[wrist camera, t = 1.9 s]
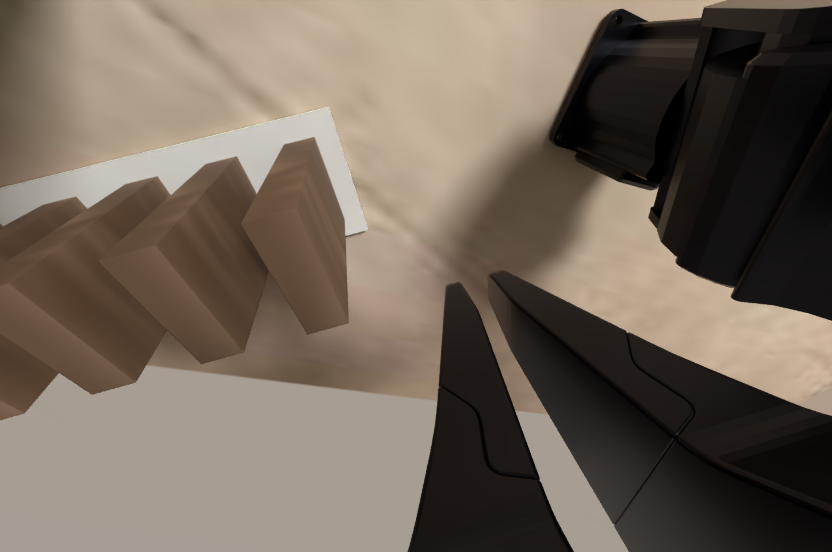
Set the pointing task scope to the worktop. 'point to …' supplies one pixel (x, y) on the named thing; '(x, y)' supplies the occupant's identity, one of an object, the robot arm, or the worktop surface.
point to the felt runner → (196, 167)
